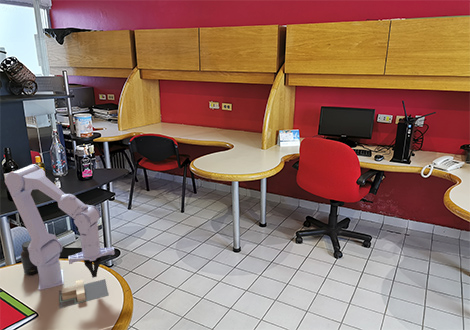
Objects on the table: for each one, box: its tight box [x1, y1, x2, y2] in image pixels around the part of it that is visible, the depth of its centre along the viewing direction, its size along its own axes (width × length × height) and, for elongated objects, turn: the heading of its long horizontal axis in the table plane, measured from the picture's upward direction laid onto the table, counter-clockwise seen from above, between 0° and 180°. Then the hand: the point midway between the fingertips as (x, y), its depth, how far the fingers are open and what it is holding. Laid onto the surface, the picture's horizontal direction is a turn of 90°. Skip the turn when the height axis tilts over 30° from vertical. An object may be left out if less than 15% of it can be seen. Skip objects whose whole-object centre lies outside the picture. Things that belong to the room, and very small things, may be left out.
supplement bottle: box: [20, 240, 39, 277], centre depth 132 cm, size 7×7×12 cm
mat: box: [58, 278, 109, 310], centre depth 122 cm, size 10×16×1 cm, turn 116°
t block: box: [61, 278, 86, 302], centre depth 120 cm, size 8×7×3 cm
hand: (94, 275), depth 122 cm, fingers closed
